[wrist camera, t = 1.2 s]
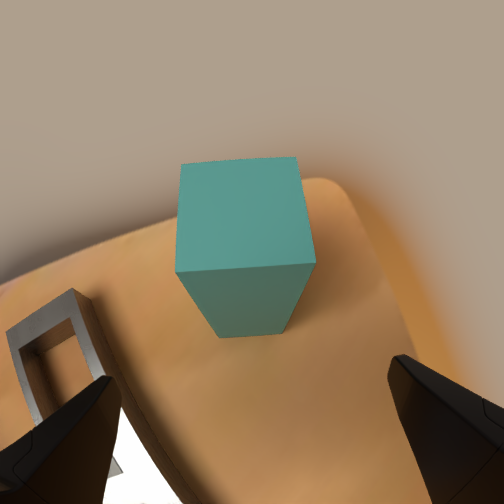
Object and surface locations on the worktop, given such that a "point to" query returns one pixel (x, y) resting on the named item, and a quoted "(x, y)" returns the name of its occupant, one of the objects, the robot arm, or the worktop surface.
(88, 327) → the grey peg board
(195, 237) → the teal peg
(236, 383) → the worktop surface
